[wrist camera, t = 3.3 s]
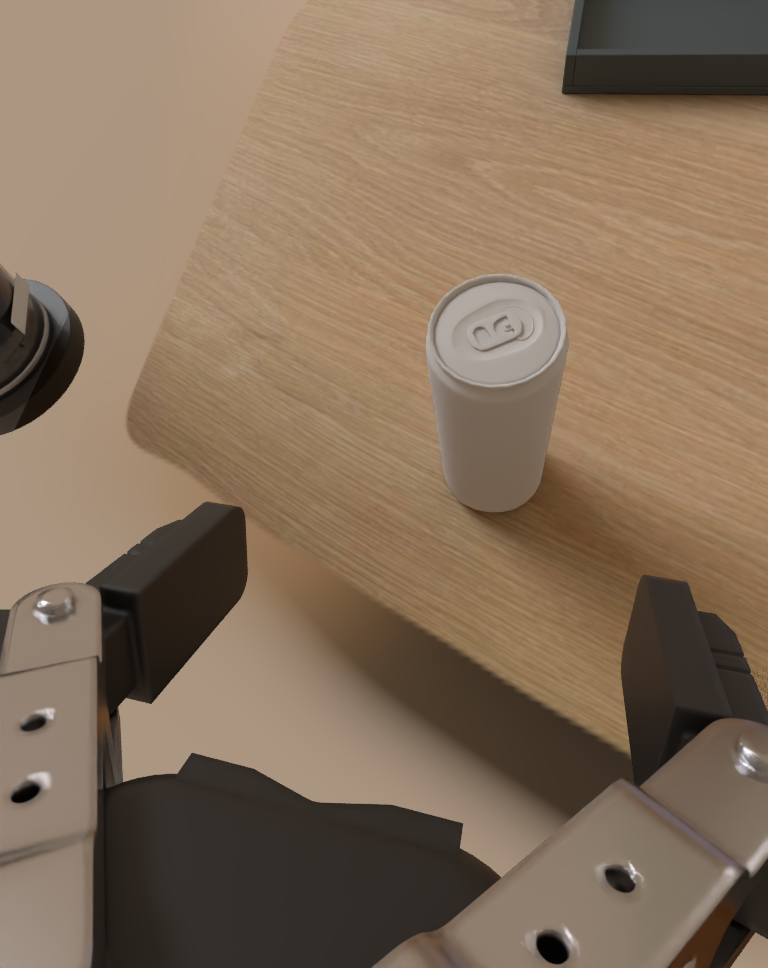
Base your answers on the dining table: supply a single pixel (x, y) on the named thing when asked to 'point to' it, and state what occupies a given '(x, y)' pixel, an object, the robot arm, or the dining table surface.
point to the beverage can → (495, 386)
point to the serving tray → (668, 47)
